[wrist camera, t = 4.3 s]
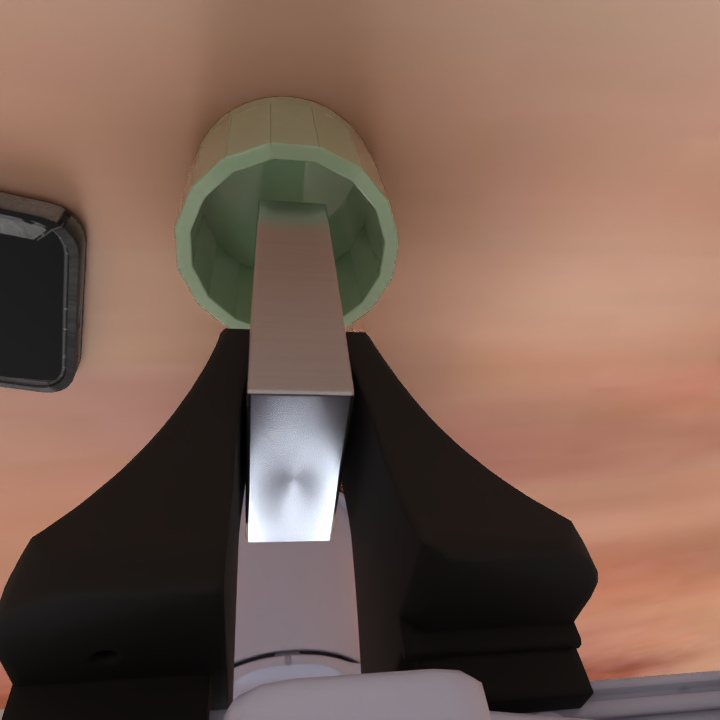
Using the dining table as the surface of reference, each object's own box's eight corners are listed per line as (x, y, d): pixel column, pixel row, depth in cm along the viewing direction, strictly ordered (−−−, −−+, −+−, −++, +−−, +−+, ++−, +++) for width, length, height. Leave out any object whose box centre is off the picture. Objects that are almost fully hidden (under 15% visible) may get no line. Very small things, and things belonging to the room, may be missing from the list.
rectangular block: (331, 203, 16) (363, 393, 10) (319, 330, 18) (338, 542, 12) (258, 197, 15) (245, 391, 10) (255, 328, 18) (244, 544, 12)
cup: (411, 201, 22) (438, 262, 18) (280, 301, 24) (283, 373, 20) (292, 50, 18) (298, 90, 15) (150, 183, 20) (126, 246, 17)
